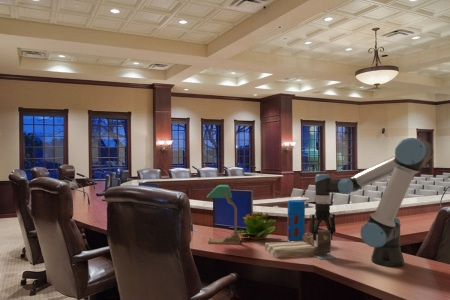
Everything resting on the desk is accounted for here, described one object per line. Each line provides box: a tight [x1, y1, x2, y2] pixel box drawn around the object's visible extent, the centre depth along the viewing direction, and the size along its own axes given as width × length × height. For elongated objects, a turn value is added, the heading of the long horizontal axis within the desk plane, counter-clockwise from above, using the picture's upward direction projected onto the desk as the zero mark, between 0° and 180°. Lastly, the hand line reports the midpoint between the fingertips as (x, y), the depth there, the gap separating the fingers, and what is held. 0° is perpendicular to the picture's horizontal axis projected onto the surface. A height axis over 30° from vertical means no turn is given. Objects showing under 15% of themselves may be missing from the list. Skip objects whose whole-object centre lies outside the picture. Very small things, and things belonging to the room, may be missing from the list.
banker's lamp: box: [206, 184, 241, 245], centre depth 219 cm, size 16×21×35 cm
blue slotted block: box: [287, 199, 306, 242], centre depth 227 cm, size 11×11×25 cm
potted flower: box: [237, 212, 276, 241], centre depth 232 cm, size 25×24×18 cm
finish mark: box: [313, 253, 337, 260], centre depth 188 cm, size 8×9×1 cm
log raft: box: [264, 241, 329, 259], centre depth 197 cm, size 16×30×4 cm, turn 104°
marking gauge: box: [302, 229, 331, 254], centre depth 197 cm, size 21×7×12 cm, turn 15°
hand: (322, 245), depth 189 cm, fingers closed on marking gauge, 7 cm apart
